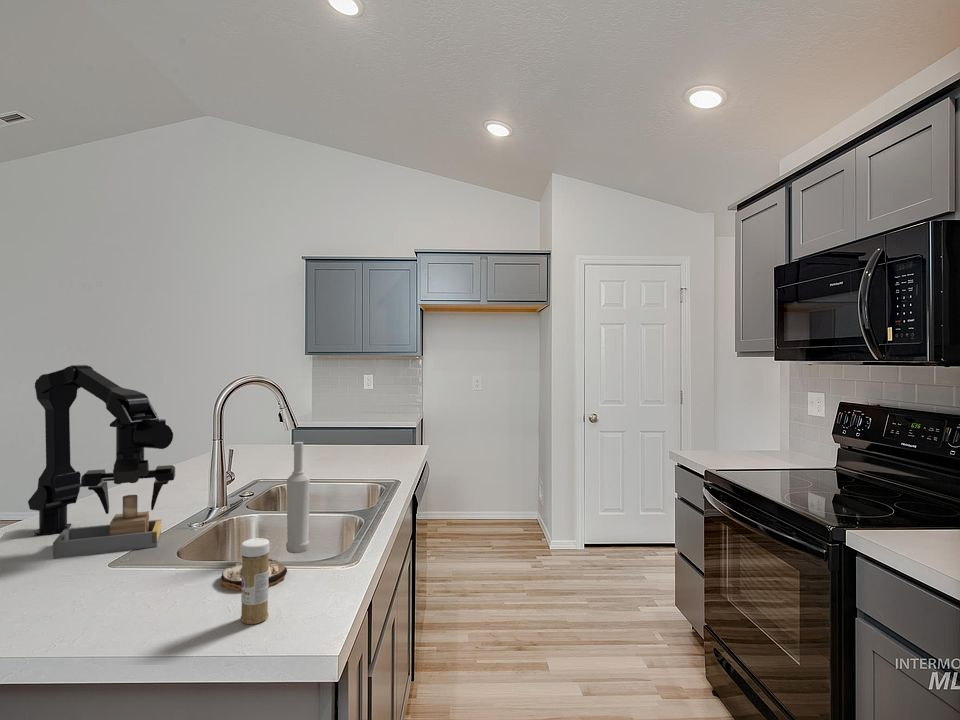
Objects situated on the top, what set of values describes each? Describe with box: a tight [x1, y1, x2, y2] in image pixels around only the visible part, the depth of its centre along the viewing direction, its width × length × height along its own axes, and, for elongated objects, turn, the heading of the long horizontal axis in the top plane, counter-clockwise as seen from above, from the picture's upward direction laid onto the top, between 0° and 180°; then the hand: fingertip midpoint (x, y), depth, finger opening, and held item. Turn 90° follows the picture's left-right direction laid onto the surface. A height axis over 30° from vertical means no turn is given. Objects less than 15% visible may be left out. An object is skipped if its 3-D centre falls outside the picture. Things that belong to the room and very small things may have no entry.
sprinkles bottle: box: [240, 537, 270, 625], centre depth 99 cm, size 5×5×14 cm
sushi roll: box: [220, 558, 288, 591], centre depth 117 cm, size 15×15×4 cm
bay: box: [52, 519, 162, 559], centre depth 136 cm, size 11×20×4 cm, turn 114°
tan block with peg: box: [109, 494, 150, 536], centre depth 138 cm, size 8×7×10 cm
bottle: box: [285, 441, 311, 554], centre depth 134 cm, size 5×5×25 cm
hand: (130, 511), depth 138 cm, fingers open, 9 cm apart
